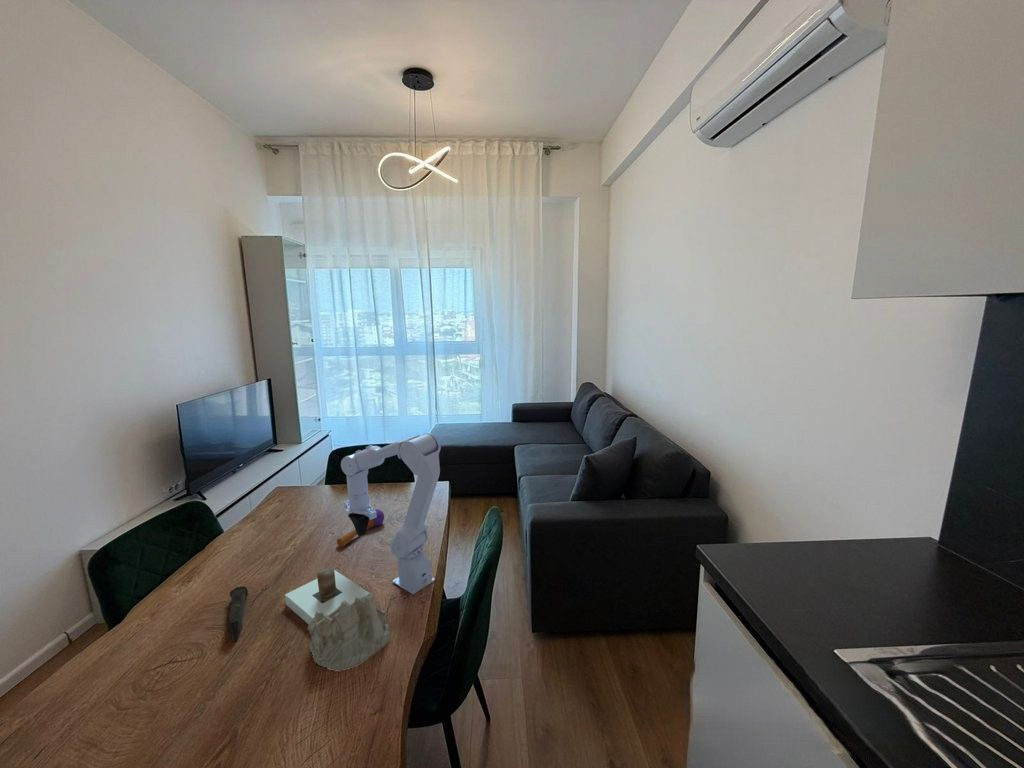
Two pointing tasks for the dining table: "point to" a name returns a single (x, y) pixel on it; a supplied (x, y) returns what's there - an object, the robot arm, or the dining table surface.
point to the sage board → (308, 597)
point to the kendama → (374, 522)
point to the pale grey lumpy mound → (348, 634)
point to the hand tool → (237, 611)
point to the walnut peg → (326, 584)
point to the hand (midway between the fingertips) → (361, 534)
